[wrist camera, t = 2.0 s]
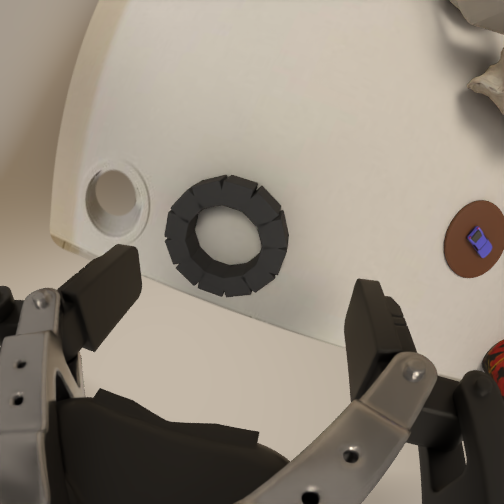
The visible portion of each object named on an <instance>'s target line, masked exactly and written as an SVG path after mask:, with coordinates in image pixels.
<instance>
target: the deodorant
mask: <svg viewBox="0 0 504 504" xmlns="http://www.w3.org/2000/svg"><path fill="white" fill-rule="evenodd" d="M482 367H483V369H484V371H485V373H486V374H488V375H489V376H491V377H492V378H493V379H494V380H495V382H496V383H497V385H498V387H499V390H500V392H501V395H502V397H503V400H504V340H502V341H500V342H499V343H497V344H496V345H494V346H493V347H492V348H491V349H490V350H489V351H488V353H487V354H486V356H485V357H484V359H483V363H482Z"/></svg>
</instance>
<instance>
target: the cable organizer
mask: <svg viewBox="0 0 504 504" xmlns="http://www.w3.org/2000/svg"><path fill="white" fill-rule="evenodd" d="M449 1H450V2H451V3H452V4H453V5H454V6H456V7H457V8H458V9H459V10H460V11H461V13H462V15H463V16H464V18H465V19H466V20H467V21H468V22H469V23H470V24H471V25H474V26H477V27H481V28H484V29H488V30H491V31H494V32H497V33H500V34H503V35H504V0H449Z"/></svg>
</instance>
